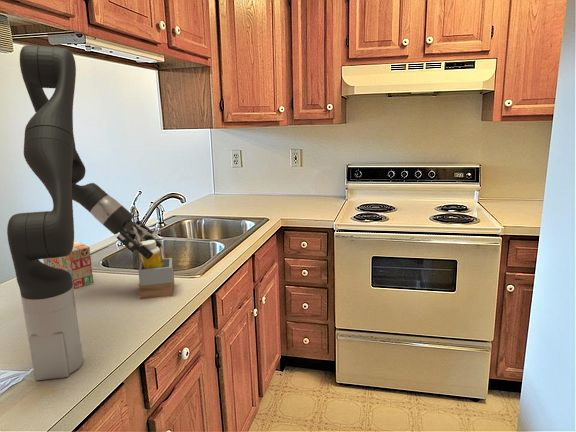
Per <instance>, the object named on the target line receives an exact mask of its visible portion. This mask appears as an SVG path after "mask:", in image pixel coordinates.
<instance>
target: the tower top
mask: <svg viewBox="0 0 576 432" xmlns="http://www.w3.org/2000/svg"><path fill="white" fill-rule="evenodd" d="M162 261H163V266H164V268H153V269H144V265H143V260H142V259H141V260H140V262H139V266H138V271H137V272H138V281H139V283H140V286H142V285H152V284H161V283H171V282H173V272H174V269H173V268H174V266H173V257H167V258H166V257H163V258H162Z"/></svg>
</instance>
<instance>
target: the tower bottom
mask: <svg viewBox="0 0 576 432" xmlns="http://www.w3.org/2000/svg"><path fill="white" fill-rule="evenodd" d="M174 289H175V276H174V271H173V282H171V283H161V284H152V285H142V286H140V282H139V283H138V293H139V299H140V300H146V299H154V298H155V299H156V298H167V297H173V295H174Z"/></svg>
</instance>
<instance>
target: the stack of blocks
mask: <svg viewBox="0 0 576 432" xmlns="http://www.w3.org/2000/svg"><path fill="white" fill-rule="evenodd" d="M42 260H43V263H44V264H46V265H48V266H50V267H54V268H58V269H62V270H66V271H68V272H69V273H70V274H71V277H72V282H73V290H77V289H79V288H83V287H85V286H89V285H92V284H94V275H93V267H92V257H91V249H90V246H88V245H86V244H84V243H81V242H79V241H75V240H74V245H73V249H72V252H71V253H70V254H69V255H68V256H64V257H57V258H47V259H42Z"/></svg>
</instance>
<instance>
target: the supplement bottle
mask: <svg viewBox="0 0 576 432" xmlns="http://www.w3.org/2000/svg"><path fill="white" fill-rule="evenodd" d="M141 242H142V241H141ZM142 244H143V245H144V246H145V247H146V248H148V249H149V250H150V251H151V252H152V253H153V255H152V256H151V257H150V258H149V259H146V258H145V257H144V256H143V255H142V254H141V253H140V255H141V260H143V265H144V269H153V268H164V266H163V261H162V259H163V258H162V253H161V249H160V248H159V247H157V246H156V241H155V240H148V241H144V240H143V242H142Z"/></svg>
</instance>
